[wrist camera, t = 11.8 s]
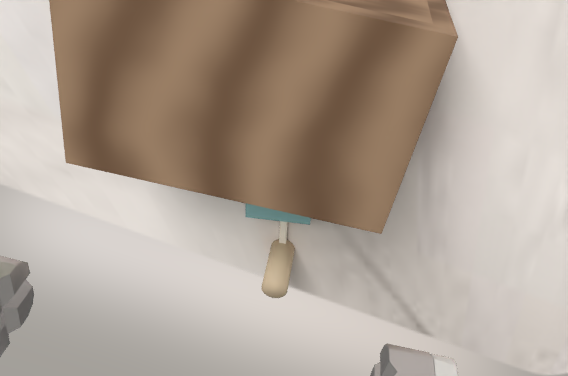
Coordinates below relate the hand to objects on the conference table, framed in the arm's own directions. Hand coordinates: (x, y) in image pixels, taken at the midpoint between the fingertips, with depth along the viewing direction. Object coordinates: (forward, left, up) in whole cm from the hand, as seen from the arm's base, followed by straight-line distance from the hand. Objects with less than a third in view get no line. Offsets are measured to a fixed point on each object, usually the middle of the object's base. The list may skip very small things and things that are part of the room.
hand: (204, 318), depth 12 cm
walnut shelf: (+3, +6, -31) cm, 32 cm away
